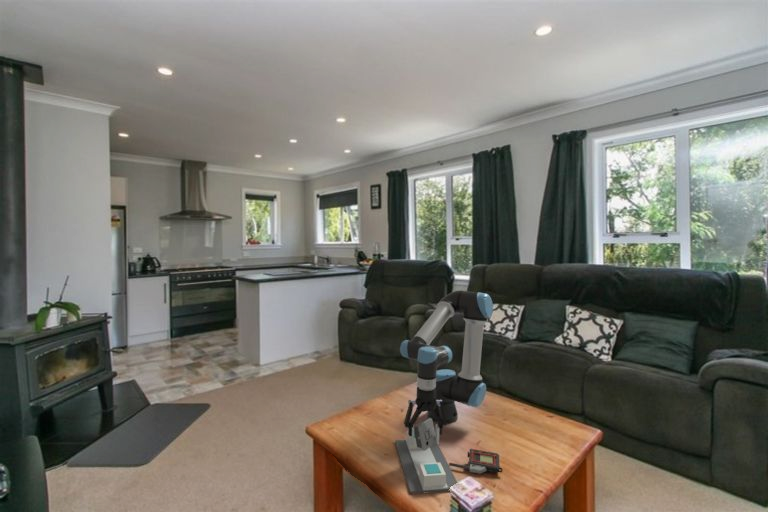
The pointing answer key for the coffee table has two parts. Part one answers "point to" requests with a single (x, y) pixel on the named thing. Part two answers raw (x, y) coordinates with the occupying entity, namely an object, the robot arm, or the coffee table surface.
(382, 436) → the coffee table surface
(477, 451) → the walkie-talkie
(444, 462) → the rail board
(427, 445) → the electrical switch
